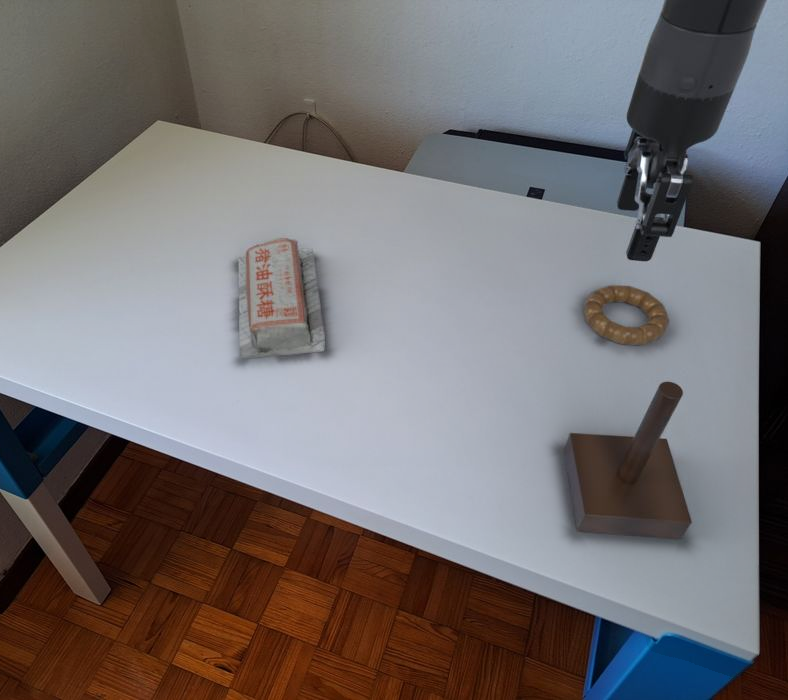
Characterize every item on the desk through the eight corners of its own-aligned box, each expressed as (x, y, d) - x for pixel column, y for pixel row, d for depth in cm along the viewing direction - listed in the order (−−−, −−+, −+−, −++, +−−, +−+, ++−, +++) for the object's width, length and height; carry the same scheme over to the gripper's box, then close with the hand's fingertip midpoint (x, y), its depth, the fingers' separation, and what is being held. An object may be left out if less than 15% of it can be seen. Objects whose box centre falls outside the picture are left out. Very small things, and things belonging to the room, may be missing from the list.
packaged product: (325, 323, 75) (235, 332, 75) (327, 353, 79) (240, 362, 78) (312, 226, 88) (234, 233, 87) (313, 256, 91) (239, 263, 91)
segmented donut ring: (654, 296, 83) (659, 283, 82) (673, 350, 77) (679, 337, 76) (577, 293, 84) (580, 280, 83) (589, 346, 78) (593, 333, 77)
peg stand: (657, 456, 67) (714, 351, 57) (680, 539, 61) (750, 439, 50) (563, 450, 68) (602, 346, 57) (577, 532, 62) (623, 431, 51)
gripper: (757, 117, 52) (683, 281, 63) (718, 40, 61) (660, 195, 73) (652, 111, 53) (599, 274, 64) (630, 37, 62) (587, 190, 74)
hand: (632, 232), depth 69 cm, fingers open, 8 cm apart
